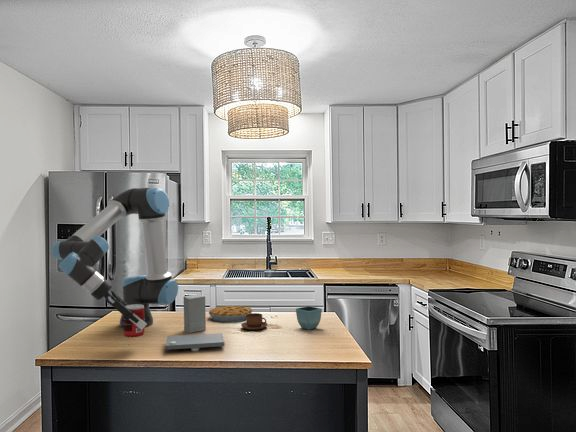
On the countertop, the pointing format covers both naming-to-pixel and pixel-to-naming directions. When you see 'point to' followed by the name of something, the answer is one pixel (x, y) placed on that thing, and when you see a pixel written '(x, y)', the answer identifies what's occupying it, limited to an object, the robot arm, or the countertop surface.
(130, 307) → the canned food
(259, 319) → the cup and saucer
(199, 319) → the skincare box
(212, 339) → the plate
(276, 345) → the countertop surface
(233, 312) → the pie
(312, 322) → the flower pot
